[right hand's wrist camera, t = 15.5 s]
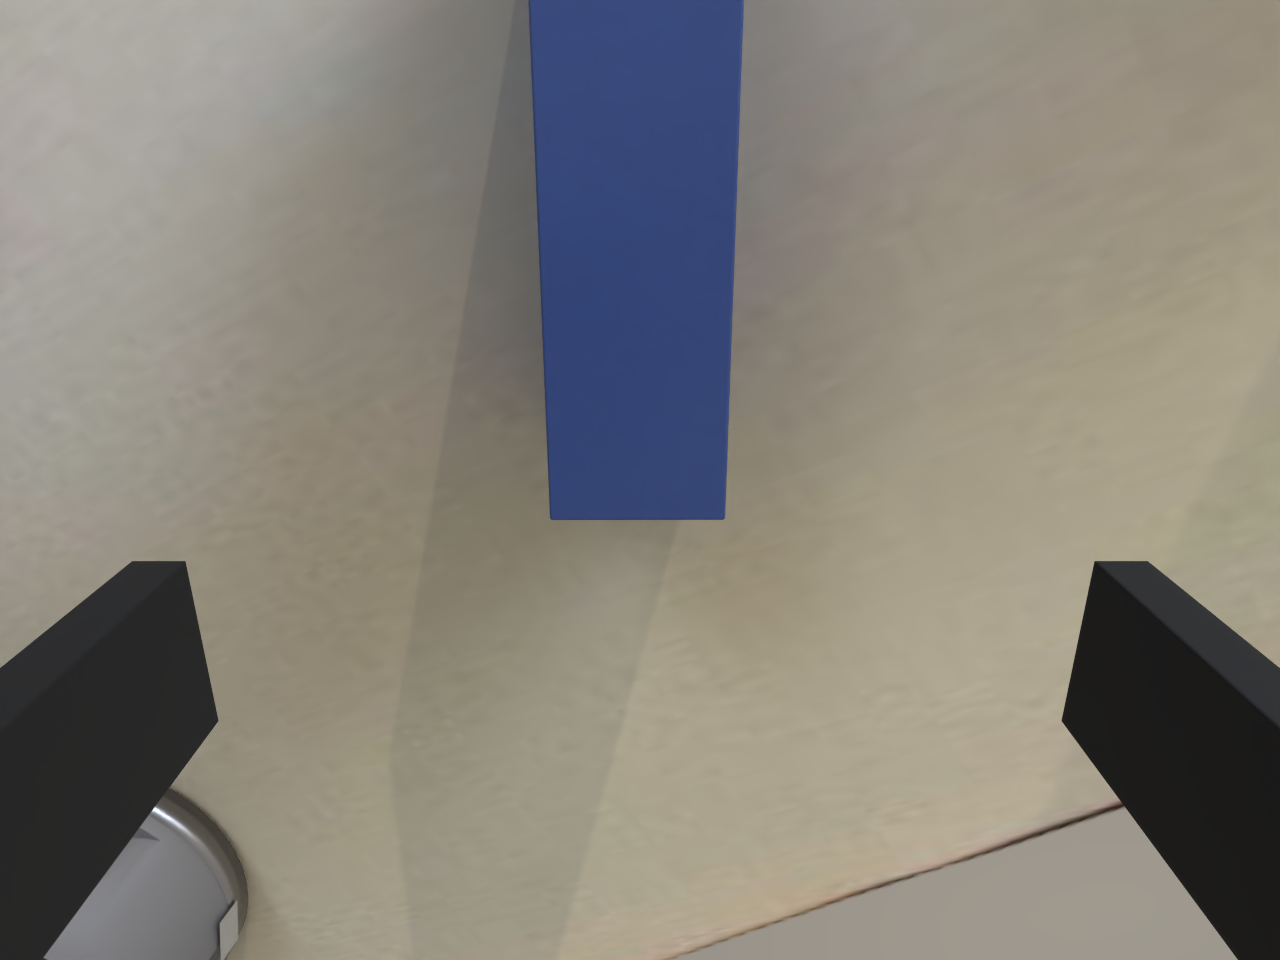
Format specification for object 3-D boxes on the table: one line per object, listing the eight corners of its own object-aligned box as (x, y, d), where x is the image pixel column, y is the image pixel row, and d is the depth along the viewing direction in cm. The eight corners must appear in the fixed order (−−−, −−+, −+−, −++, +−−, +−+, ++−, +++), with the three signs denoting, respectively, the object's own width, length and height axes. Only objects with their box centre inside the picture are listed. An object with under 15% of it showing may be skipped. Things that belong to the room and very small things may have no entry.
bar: (704, 430, 37) (725, 520, 28) (571, 430, 37) (549, 520, 28) (721, -224, 29) (758, -394, 20) (551, -224, 29) (511, -394, 20)
